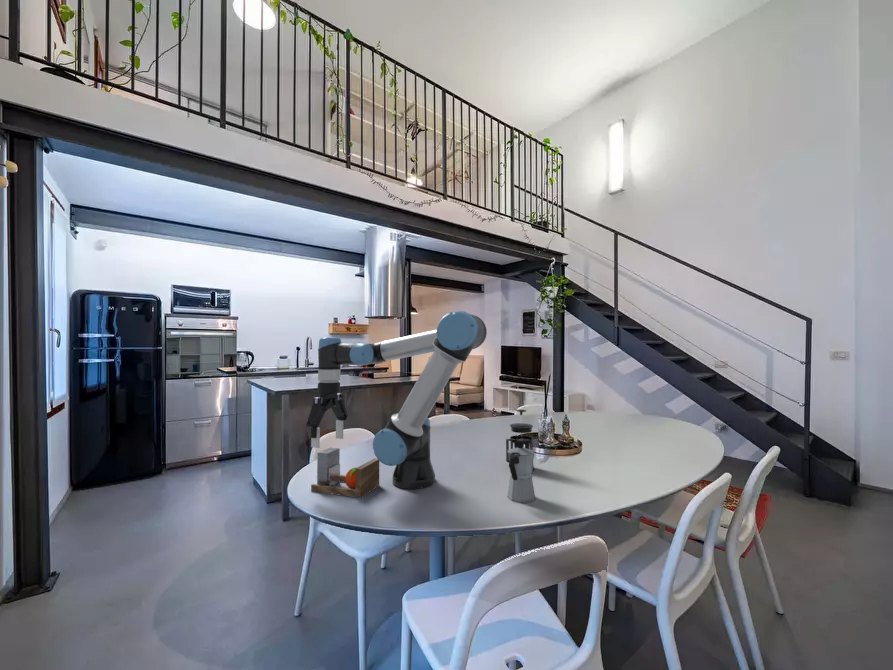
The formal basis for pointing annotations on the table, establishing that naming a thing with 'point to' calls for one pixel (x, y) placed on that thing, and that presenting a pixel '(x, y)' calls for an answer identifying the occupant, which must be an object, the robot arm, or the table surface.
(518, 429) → the french press
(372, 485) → the frame
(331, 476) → the block
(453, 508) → the table surface
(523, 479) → the coffee maker
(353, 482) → the clementine
